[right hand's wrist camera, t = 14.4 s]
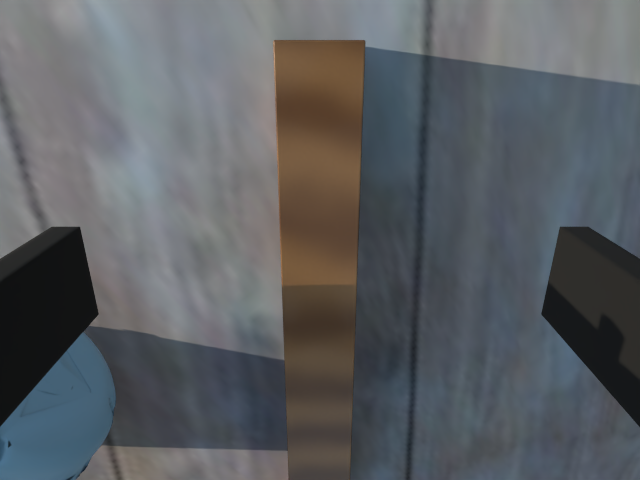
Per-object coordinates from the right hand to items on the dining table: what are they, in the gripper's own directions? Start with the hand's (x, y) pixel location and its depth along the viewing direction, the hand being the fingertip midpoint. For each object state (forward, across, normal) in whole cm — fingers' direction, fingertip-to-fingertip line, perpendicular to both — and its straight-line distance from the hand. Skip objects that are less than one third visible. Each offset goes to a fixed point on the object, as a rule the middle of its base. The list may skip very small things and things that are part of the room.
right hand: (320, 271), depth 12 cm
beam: (+25, 0, -17) cm, 30 cm away
